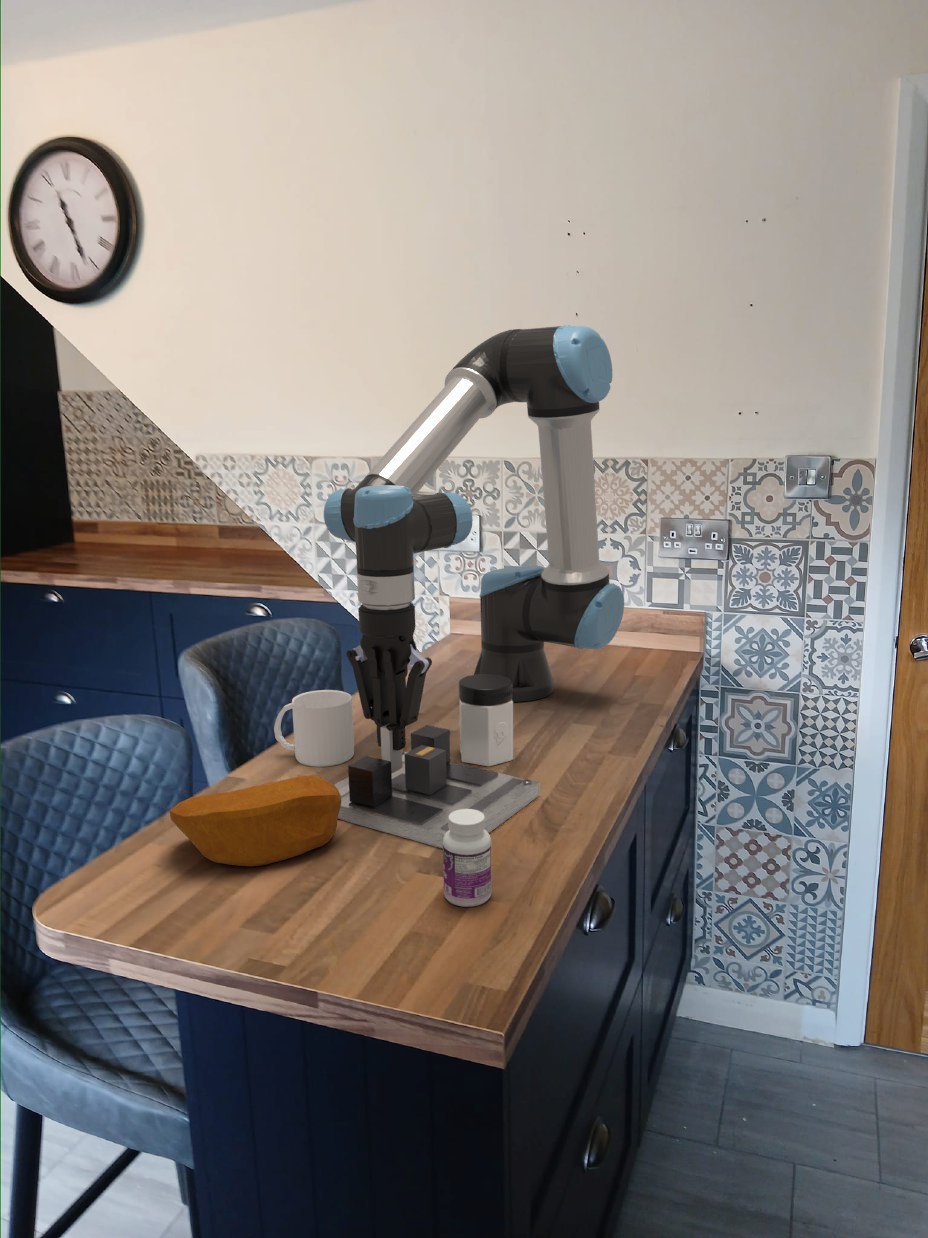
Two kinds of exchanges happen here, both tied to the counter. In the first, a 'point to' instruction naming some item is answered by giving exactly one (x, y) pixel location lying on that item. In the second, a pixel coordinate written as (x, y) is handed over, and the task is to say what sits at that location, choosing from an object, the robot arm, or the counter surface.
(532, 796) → the panel
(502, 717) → the jar
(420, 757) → the handle
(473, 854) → the pill bottle
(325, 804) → the bread
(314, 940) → the counter surface
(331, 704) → the mug
